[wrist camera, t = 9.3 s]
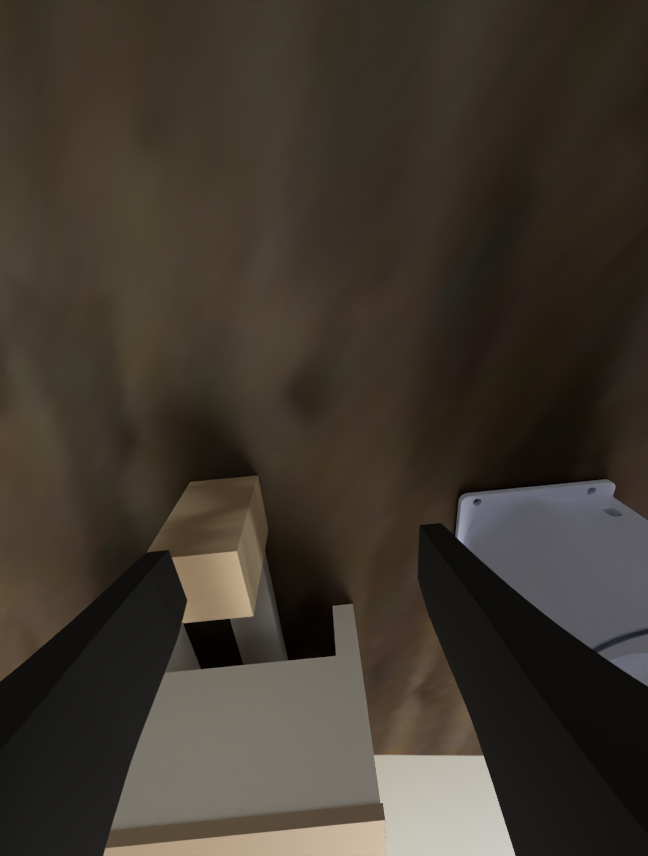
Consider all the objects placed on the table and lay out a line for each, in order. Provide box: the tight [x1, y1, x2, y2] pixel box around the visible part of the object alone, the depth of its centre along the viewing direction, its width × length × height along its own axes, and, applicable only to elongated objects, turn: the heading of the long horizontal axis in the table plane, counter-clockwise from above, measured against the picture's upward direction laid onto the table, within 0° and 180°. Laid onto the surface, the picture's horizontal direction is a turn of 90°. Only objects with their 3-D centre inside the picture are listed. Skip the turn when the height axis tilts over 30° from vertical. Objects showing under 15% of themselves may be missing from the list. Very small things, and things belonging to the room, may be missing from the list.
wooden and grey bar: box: [147, 475, 288, 665], centre depth 20 cm, size 4×20×6 cm, turn 5°
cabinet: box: [103, 604, 386, 856], centre depth 21 cm, size 14×10×10 cm
